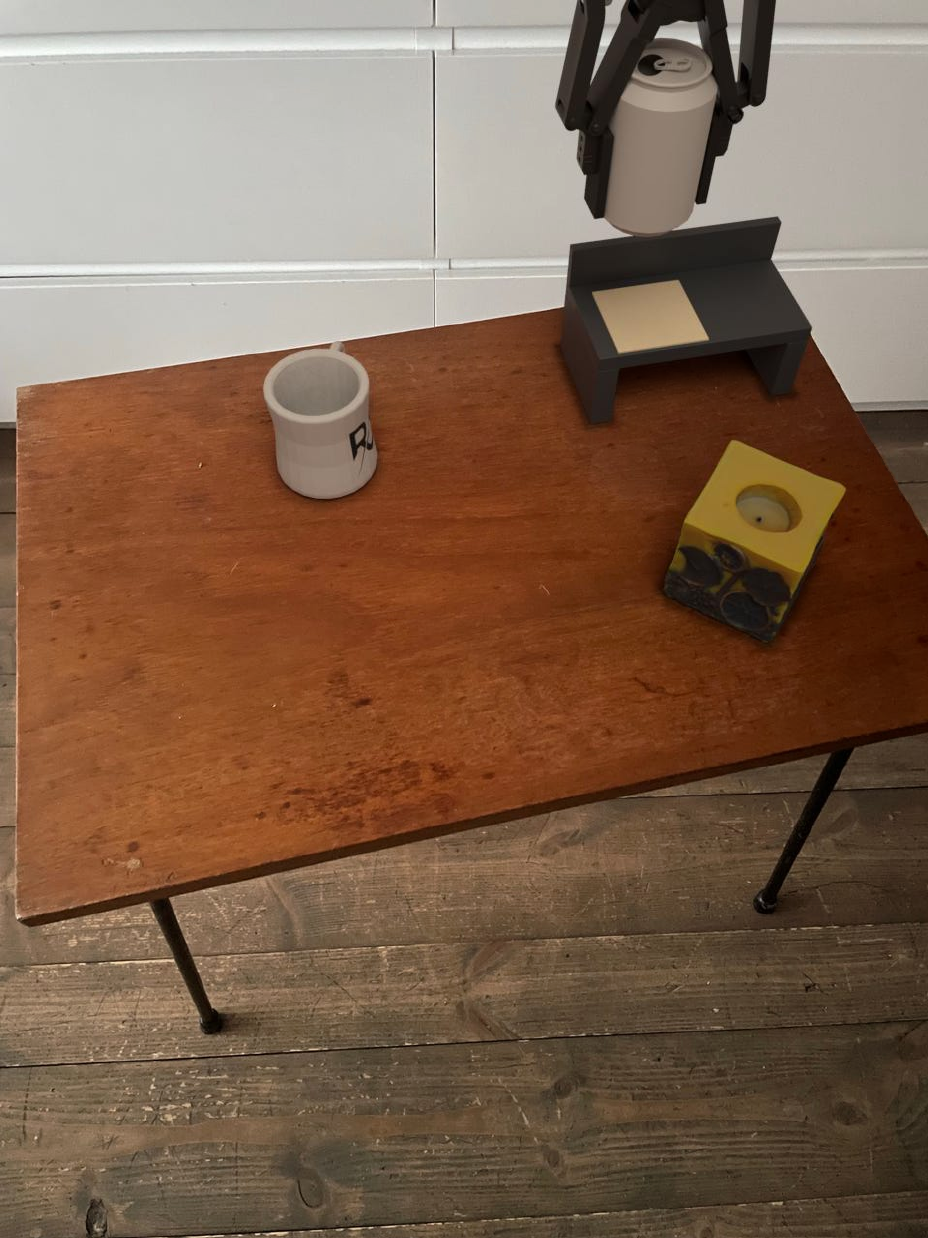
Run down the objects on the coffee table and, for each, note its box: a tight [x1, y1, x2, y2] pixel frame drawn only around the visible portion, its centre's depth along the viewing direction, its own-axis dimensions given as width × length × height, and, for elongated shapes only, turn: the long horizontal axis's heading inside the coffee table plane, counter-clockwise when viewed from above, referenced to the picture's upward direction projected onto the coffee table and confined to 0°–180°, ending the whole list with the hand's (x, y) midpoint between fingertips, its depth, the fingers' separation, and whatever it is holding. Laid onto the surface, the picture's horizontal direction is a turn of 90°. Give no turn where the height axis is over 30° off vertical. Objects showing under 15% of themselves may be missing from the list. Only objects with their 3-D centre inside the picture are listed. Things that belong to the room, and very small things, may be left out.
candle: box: [662, 439, 847, 644], centre depth 85 cm, size 10×10×10 cm
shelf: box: [559, 216, 813, 425], centre depth 99 cm, size 20×11×12 cm, turn 102°
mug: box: [262, 340, 379, 500], centre depth 93 cm, size 12×9×10 cm
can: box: [603, 37, 717, 237], centre depth 77 cm, size 8×8×12 cm
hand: (644, 200), depth 81 cm, fingers closed on can, 7 cm apart
